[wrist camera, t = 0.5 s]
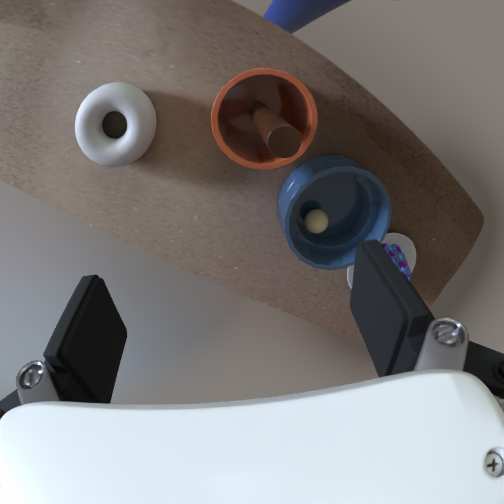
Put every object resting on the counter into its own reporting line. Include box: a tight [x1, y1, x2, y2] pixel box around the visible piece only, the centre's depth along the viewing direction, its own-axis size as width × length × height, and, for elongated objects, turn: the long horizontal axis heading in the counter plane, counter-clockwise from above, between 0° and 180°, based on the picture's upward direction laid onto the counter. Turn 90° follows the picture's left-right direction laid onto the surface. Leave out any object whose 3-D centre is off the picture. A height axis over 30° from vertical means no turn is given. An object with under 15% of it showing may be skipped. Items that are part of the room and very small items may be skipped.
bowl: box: [278, 155, 392, 270], centre depth 37 cm, size 13×13×6 cm
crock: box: [211, 68, 318, 170], centre depth 29 cm, size 9×9×9 cm
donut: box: [75, 82, 157, 167], centre depth 31 cm, size 10×4×10 cm
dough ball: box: [304, 209, 328, 233], centre depth 39 cm, size 3×3×3 cm
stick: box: [248, 101, 301, 158], centre depth 25 cm, size 2×2×18 cm
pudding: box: [347, 233, 416, 289], centre depth 43 cm, size 12×12×5 cm
